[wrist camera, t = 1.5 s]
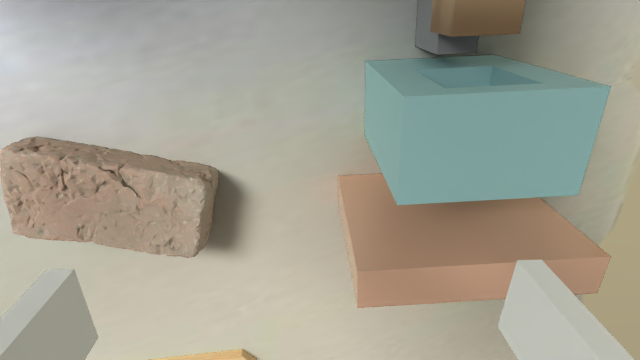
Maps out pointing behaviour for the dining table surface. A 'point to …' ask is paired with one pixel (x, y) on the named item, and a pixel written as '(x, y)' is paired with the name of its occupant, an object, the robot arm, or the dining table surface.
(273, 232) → the dining table surface
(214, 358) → the cutting board
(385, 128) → the block
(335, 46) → the dining table surface
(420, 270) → the base
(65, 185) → the brick
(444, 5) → the bar
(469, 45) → the rail
